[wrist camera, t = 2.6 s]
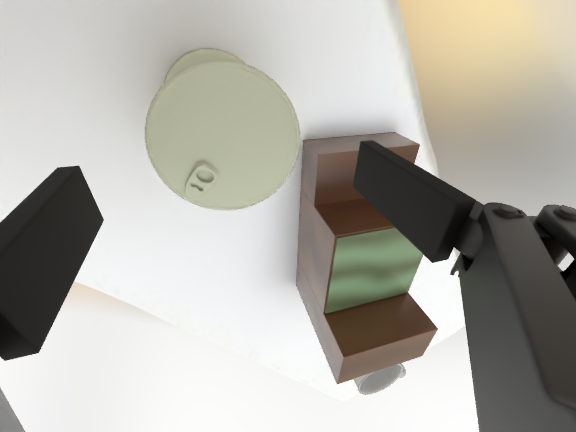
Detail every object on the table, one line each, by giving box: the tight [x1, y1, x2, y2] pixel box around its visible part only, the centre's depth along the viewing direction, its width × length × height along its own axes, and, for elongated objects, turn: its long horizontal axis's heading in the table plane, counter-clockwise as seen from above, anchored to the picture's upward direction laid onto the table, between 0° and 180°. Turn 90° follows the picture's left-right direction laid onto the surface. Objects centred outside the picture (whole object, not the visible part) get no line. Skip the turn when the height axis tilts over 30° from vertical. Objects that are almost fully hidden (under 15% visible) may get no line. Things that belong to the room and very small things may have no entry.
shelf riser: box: [296, 133, 438, 384], centre depth 32 cm, size 24×12×16 cm, turn 179°
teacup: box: [354, 363, 406, 395], centre depth 60 cm, size 14×11×8 cm
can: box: [145, 49, 300, 210], centre depth 20 cm, size 9×9×12 cm
